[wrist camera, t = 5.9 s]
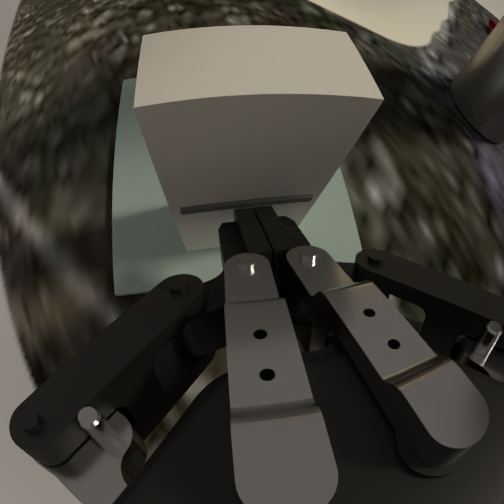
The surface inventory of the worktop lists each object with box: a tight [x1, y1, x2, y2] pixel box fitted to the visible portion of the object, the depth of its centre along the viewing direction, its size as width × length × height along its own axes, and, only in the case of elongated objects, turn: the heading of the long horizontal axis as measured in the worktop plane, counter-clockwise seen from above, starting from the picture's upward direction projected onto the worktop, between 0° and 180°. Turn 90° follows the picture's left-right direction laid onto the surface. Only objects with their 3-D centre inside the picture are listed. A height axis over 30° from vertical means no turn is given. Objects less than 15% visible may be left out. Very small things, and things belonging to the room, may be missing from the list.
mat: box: [112, 77, 362, 296], centre depth 20 cm, size 15×17×1 cm
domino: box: [134, 26, 384, 251], centre depth 12 cm, size 6×3×12 cm, turn 99°
